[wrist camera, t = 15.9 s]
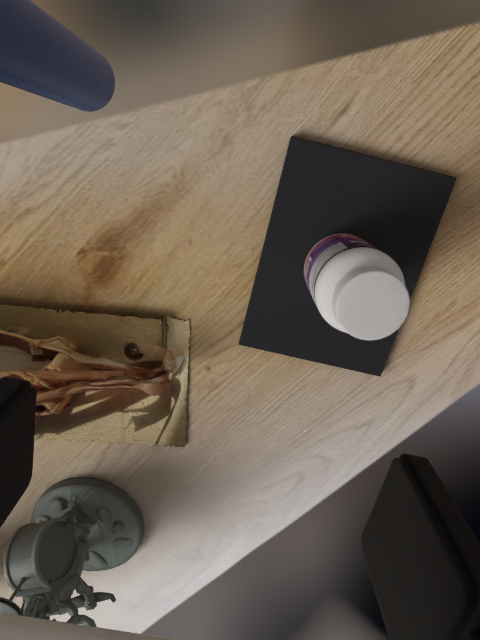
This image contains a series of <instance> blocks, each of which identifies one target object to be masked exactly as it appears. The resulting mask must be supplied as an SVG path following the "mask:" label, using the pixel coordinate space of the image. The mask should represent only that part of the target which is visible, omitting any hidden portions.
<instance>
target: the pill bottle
mask: <svg viewBox="0 0 480 640" xmlns="http://www.w3.org/2000/svg"><path fill="white" fill-rule="evenodd" d="M304 277H305V281H306V284H307V287H308V289H309V291H310V293H311V295H312V297H313V300H314V302H315V304H316V306H317V309H318V310H319V312H320V314H321V315H322V317H323V318H324V319H325V320H326V321H327V322H328V323H329V324H330V325H331V326H333V327H334V328H336V329H338V330H340V331H342V332H345V333H348V334H350V335H351V336H353V337H355V338H358V339H362V340H378V339H382V338H385V337H387V336H389V335H391V334H392V333H394V332H395V331H396V330H397V329H398V328H399V327H400V326H401V325H402V324H403V322H404V321H405V319H406V317H407V315H408V312H409V306H410V298H409V294H408V291H407V288H406V287H405V281H404V276H403V274H402V271H401V269H400V268H399V266H398V265H397V263H396V262H395V261H394V260H393V259H392V258H391V257H390V256H388V255H387V254H385V253H384V252H382V251H381V250H379V249H377V248H376V247H374V246H372V245H371V244H369V243H368V242H366V241H364V240H363V239H361V238H359V237H357V236H354V235H351V234H334V235H330V236H328V237H325V238H323V239H322V240H320V241H319V242H318V243H317V244H315V245H314V247H313V248H312V249H311V250H310V252H309V254H308V256H307V258H306V261H305V265H304Z"/></svg>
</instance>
